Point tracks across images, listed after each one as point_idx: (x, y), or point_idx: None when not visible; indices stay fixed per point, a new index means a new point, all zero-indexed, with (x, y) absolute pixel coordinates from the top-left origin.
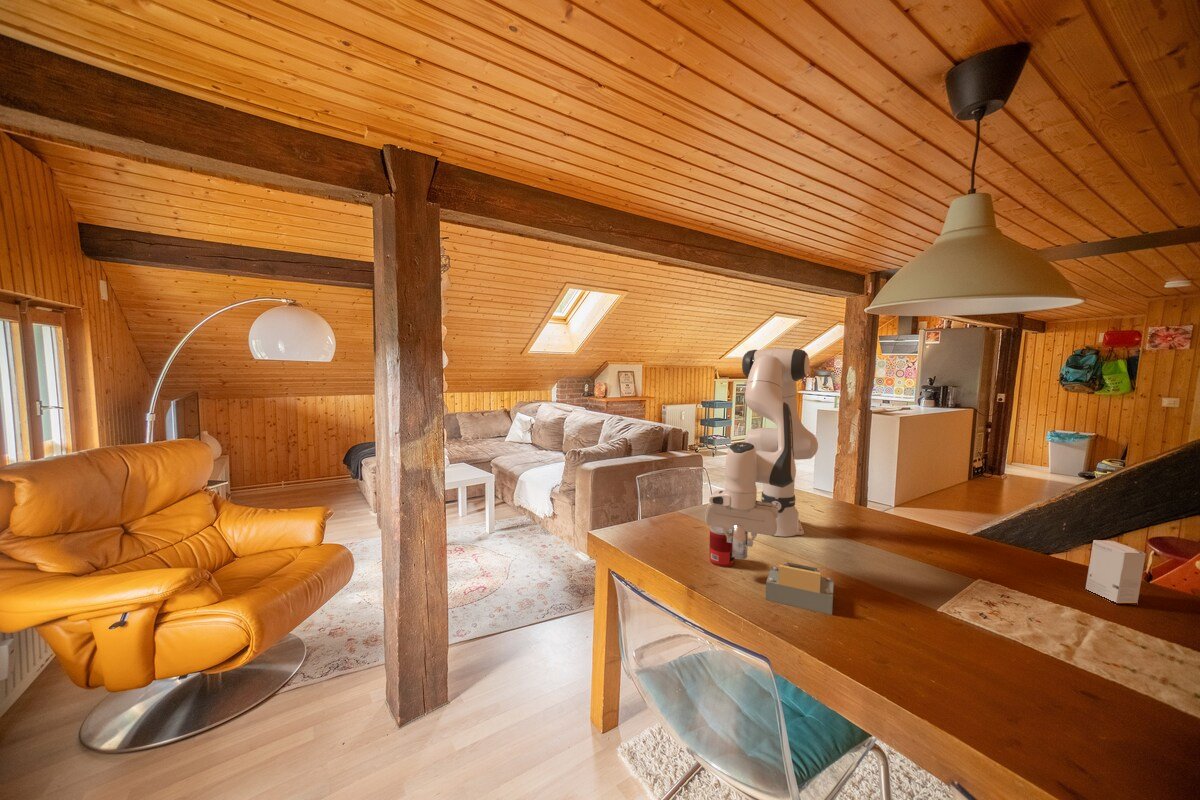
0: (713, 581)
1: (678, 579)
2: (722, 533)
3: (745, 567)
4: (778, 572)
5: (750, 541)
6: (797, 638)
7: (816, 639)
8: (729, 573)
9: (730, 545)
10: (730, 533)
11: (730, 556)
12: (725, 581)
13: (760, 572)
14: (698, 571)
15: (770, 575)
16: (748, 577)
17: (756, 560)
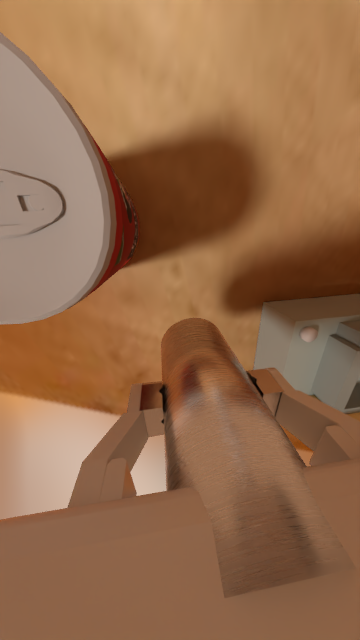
0: (131, 365)
1: (56, 399)
2: (43, 318)
3: (181, 228)
4: (312, 346)
5: (277, 417)
6: (294, 436)
7: None
8: (149, 302)
9: (119, 266)
10: (95, 278)
11: (129, 257)
12: (156, 350)
13: (232, 242)
14: (68, 339)
15: (287, 374)
16: (204, 297)
17: (206, 119)
